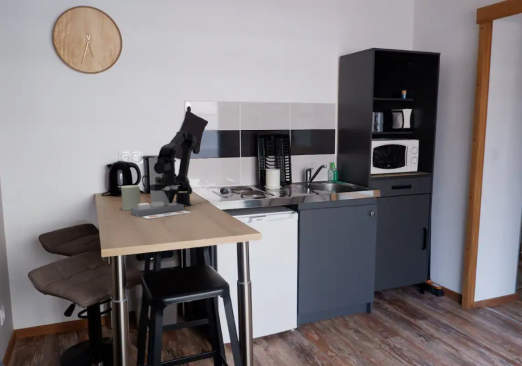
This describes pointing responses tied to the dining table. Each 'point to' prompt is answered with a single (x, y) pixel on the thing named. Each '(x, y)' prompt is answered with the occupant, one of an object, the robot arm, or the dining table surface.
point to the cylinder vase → (155, 194)
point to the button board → (157, 210)
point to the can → (130, 196)
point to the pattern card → (166, 214)
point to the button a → (143, 206)
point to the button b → (170, 204)
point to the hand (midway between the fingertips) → (170, 203)
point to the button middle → (157, 204)
